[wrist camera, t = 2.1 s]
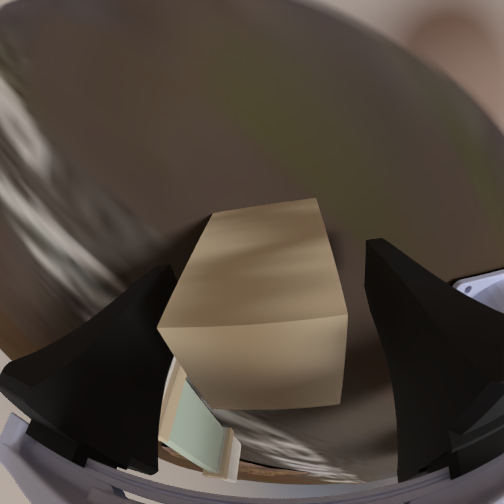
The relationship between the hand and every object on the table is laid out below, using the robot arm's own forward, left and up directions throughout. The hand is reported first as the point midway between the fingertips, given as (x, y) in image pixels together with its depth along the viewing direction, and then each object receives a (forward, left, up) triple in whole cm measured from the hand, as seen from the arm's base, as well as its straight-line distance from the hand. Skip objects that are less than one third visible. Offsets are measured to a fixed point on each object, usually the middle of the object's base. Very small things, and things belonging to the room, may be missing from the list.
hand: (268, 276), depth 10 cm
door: (+8, +14, -1) cm, 16 cm away
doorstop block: (0, 0, -2) cm, 2 cm away
